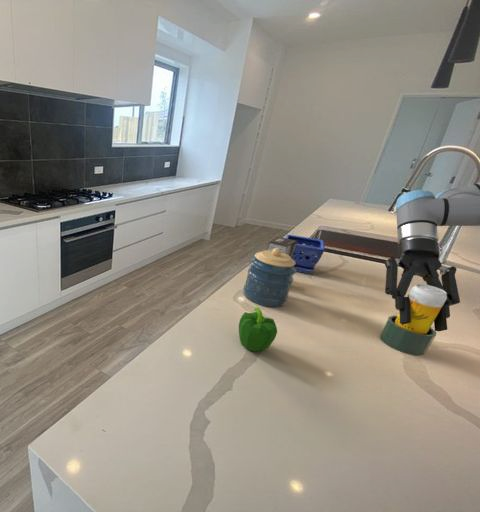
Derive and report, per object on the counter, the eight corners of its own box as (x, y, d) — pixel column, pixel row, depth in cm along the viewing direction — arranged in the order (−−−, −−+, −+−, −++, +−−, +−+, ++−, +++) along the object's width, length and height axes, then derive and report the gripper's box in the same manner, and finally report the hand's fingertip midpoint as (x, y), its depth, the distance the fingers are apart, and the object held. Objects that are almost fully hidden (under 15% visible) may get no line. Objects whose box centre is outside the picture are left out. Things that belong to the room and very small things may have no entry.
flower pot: (276, 268, 122) (284, 241, 117) (279, 258, 132) (286, 233, 127) (315, 277, 115) (325, 249, 110) (315, 266, 125) (324, 240, 120)
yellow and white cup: (382, 330, 82) (407, 282, 76) (407, 333, 81) (433, 284, 75) (400, 345, 76) (428, 294, 70) (427, 347, 75) (457, 296, 69)
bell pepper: (273, 360, 71) (284, 325, 68) (236, 351, 74) (245, 317, 70) (267, 339, 79) (278, 307, 75) (234, 332, 81) (242, 300, 77)
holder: (414, 339, 81) (424, 320, 79) (432, 359, 74) (444, 340, 71) (374, 330, 84) (382, 312, 82) (388, 349, 77) (398, 330, 74)
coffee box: (267, 274, 116) (278, 235, 110) (285, 281, 112) (298, 240, 105) (257, 281, 110) (268, 240, 104) (276, 288, 106) (289, 246, 100)
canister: (246, 284, 108) (258, 238, 101) (287, 295, 101) (303, 247, 94) (238, 299, 98) (251, 249, 91) (283, 312, 91) (301, 260, 84)
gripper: (453, 255, 80) (462, 339, 73) (366, 243, 87) (366, 320, 79) (477, 243, 74) (490, 334, 66) (381, 231, 80) (383, 313, 73)
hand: (422, 326), depth 73 cm, fingers closed on yellow and white cup, 6 cm apart
